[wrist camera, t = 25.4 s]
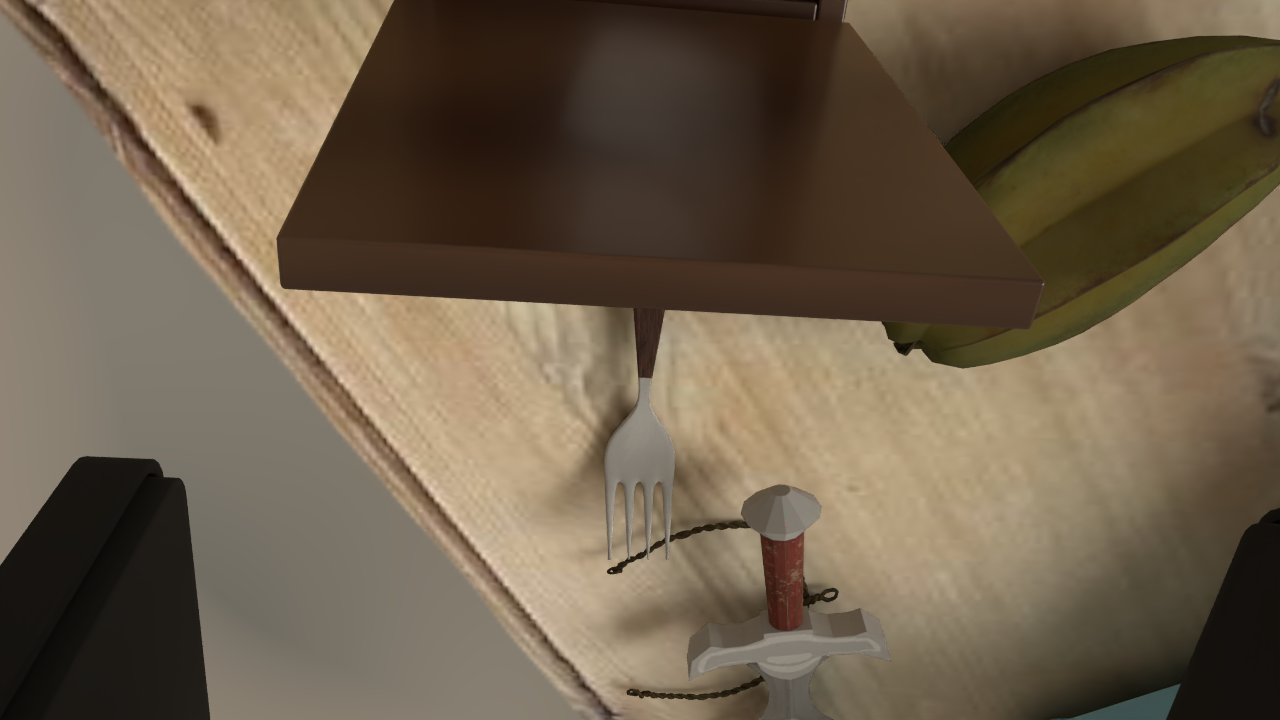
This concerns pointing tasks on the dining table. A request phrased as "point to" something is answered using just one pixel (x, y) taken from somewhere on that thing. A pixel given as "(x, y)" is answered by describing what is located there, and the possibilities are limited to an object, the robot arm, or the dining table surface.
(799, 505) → the dagger
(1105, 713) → the teakettle
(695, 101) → the lid
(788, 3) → the chest
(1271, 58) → the fruit
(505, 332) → the dining table surface
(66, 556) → the robot arm
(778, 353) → the dining table surface
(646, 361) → the fork
